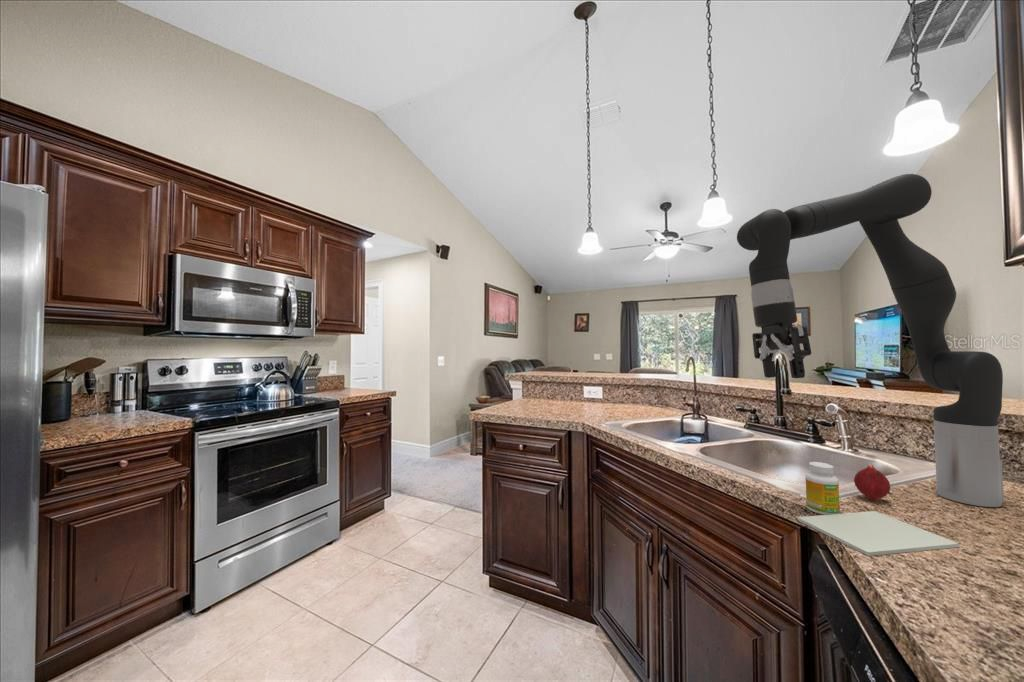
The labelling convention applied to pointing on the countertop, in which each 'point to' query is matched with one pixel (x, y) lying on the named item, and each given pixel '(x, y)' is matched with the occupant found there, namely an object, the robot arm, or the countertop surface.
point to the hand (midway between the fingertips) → (783, 377)
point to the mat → (876, 533)
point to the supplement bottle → (822, 489)
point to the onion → (872, 483)
